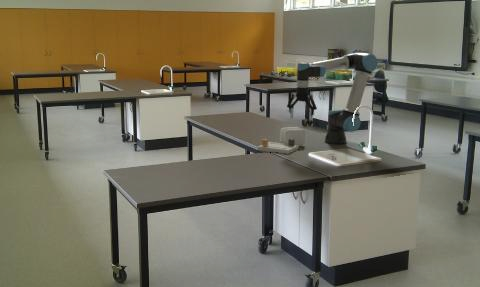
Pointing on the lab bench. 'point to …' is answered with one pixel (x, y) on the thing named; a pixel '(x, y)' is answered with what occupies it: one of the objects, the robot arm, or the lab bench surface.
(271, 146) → the mixing board
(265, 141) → the orange fader
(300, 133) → the cable organizer
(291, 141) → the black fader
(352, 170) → the lab bench surface
